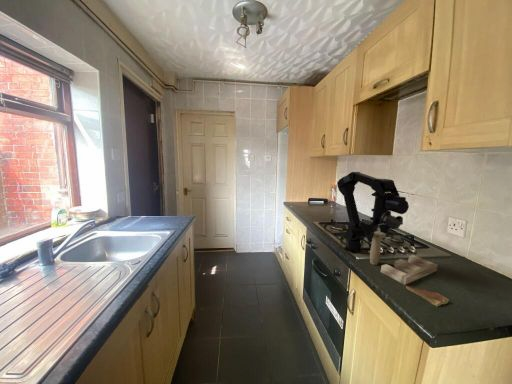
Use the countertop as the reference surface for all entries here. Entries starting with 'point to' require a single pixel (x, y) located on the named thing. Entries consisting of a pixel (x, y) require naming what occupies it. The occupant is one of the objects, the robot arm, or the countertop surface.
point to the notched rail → (409, 269)
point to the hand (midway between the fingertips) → (376, 240)
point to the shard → (429, 296)
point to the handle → (376, 247)
